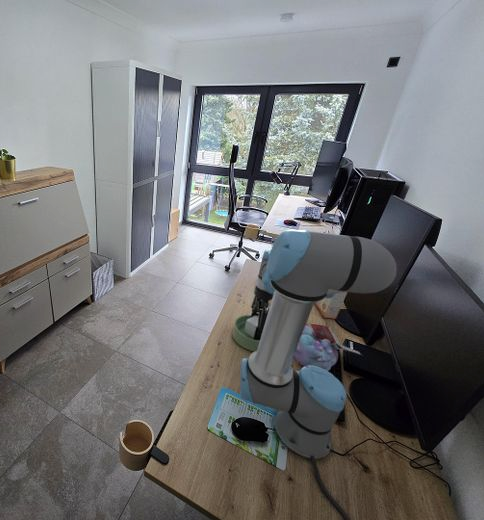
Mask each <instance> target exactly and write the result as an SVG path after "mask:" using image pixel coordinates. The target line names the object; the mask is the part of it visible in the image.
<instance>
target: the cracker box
mask: <svg viewBox="0 0 484 520" xmlns="http://www.w3.org/2000/svg"><path fill="white" fill-rule="evenodd" d="M347 295H348V292H341V293H336V294H335V295H334V296H333V297H332V298H324V299H323V300H321V301H319V302H315V303H314V305H315V306H316V307H317V308H318V310H319V312H320V314H321V316H322V317H323V318H325V319H333V320H337V318H338V315H339V313H340V311H341V309H342V306H343V303H344V301H345V299H346V297H347Z"/></svg>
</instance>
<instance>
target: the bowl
mask: <svg viewBox="0 0 484 520" xmlns="http://www.w3.org/2000/svg"><path fill="white" fill-rule="evenodd" d="M250 318H251V314H243V315H240V316H238V317H237V318H236V319H235V320H234V323H233V328H232V331H231V333H232V334H231V335H232V337H233V339H234V341H235V343H237V344H238V345H239V346H240V347H242V348H244V349H245V350H247V351H251V352H255V351H257V349H258V346H259V342H260V340H254V339H253V337H252V336H250V335H249V334H248V333H246V332H245V331H244V329H245V325H246V320H247V319H250Z"/></svg>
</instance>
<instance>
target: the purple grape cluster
mask: <svg viewBox="0 0 484 520" xmlns="http://www.w3.org/2000/svg"><path fill="white" fill-rule="evenodd" d="M309 325H310V326H308V325H307V324H306V325H305V328H304V331H303V333H302V336H301V338H300V341H299V343H298V346H297V349H296V351H295V354H294V356H293V357H294V358H295V361H296V362H297V363H299V364H300V365H301V366H303V367H306V366H309V365H311V366H317V367H320V368H322V369H324V370H326V371H328V372H329V370H331V368H332V367H333V366H335V365H336V364H337V362H338V360H339V351H338V350H340V351H344V352H347V353H352V354H355V355H358V356H359V355H360V356H362V353H361V352H360V351H358V350H355V349H352V348H350V347H347V346H346V345H342V344H340V341H339V339H338V338H337V336H336V335H335V333H334V332H333V331H332V329H331V327H329V326H328V325H327V324H318V323H312V322H311V323H309Z"/></svg>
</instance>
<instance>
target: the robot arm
mask: <svg viewBox="0 0 484 520" xmlns="http://www.w3.org/2000/svg"><path fill="white" fill-rule="evenodd" d="M260 262H261V263H260V265H259V266H260V267H259V272H258V275H257V278H256V282H255V286H254V291H253V294H254V297H253V300H252V303H251V306H250V308H251V314H250V315H251V318H252V317H254V316H258V326H255V327H256V330H255V334H254V337H253V339H254V340H260V342H259V346H258V349H257V351H255V352H254V351H252V353H250V355H249V357H244V358H242V359H241V366H240V387H239V390H240V391H239V392H240V393H239V394H240V397H241V398H242V400H245V401H247V402H249V403H252V404H254V405H255V404H256V405H260V406H263V407H267V408H270V409H273V410H278V411H277V413H276V415H275V417H274V420H273V426H274V430H275V431H274V432H275V433H276V435H277V437H278V439H279V440H280V442H281V443H282V444H283V445H284V446H285V447H286V448H287V449H288V450H289V451H291V452H292V453H294V454H295V455H297V456H298V457H300V458H303V459H307V460H310V461H311V463H312V466H313V469H314V475H315V477H316V481H317V483H318V485H319V487H320V490H322V492H323V494H324V495H325V496H326V497H327V499H328V500H329V501H330V502H331V504H332V505H333V506H334V507H335V508H336V509H337V511H338V512H339V513H340V514H341V516H342V517H343V519H344V520H351V519H350V517H349V516H348V514H347V513H346V511H345V510H344V509H343V508H342V507H341V505H340V504H339V502H337V501H336V500H335V499H334V497H333V496H332V495H331V494H330V492H329V491H328V490H327V488H326V487H325V485H324V482H323V481H322V479H321V474H320V471H319V467H318V463H317V461H319V460H322V459H324V458H326V457H327V456H328V455H329V453H330V451H331V449H332V445H333V438H332V429H333V427H334V425H335V424H336V422H337V420H338V418H339V416H340V413H341V412H342V411H343V410H344V408H345V404H346V401H347V392H346V388H345V387H344V385H343V383H342V382H341V381H340V380H339V379H338V378H337V377H336V376H334V374H333V373H331V372H330V371H329V370H328V371H326V370H324V369H322V368H320V367H317V366H311V365H309V366H303V367H302V368H300V369H299V370H295V369H293V368H292V366H291V364H292V361H293V358H294V357H295V356H294V354H295V351H296V349H297V346H298V343H299V341H300V338H301V336H302V333H303V331H304V328H305V325H306V326H307V323H308V321H309V318H310V315H311V313H312V310H313V307H314V306H315V302H319V301H321V300H323V299H324V298H332V297H333V296H334V295H335V294H336V293H341V292H347V293H353V294H359V295H365V294H374V293H378V292H382V291H383V290H385V289H386V288H388V287H390V285H392V283H393V282H394V280H395V278H396V277H397V269H398V268H397V263H396V260H395V258H394V256H393V255H392V253H391V251H389V250H388V249H387V248H386V247H385V246H384V245H382V244H381V243H379V242H377V241H374V240H372V239H369V238H365V237H361V236H351V235H343V234H336V233H335V234H334V233H327V232H319V231H310V230H308V229H302V230H300V229H286V230H284V231H282V232H280V234H279V235H278V236H277V237H276V239H275V240H274V243H273V245H272V247H271V248H268V249H265V250H264V251H263V254H262V257H261V261H260ZM270 301H271V302H270Z"/></svg>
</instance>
